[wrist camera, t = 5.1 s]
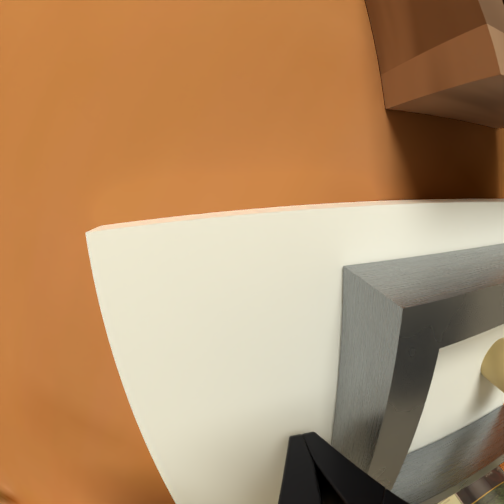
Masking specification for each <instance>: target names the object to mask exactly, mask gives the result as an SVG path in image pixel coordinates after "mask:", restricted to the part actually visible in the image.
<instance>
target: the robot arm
mask: <svg viewBox="0 0 504 504" xmlns="http://www.w3.org/2000/svg"><path fill="white" fill-rule="evenodd" d="M278 504H410V503H408V502H406V501H405V500H403V499H402V498H400V497H399V496H397V495H396V494H394V493H393V492H391V491H390V490H389V489H385V487H384V486H383V485H381V484H380V483H379V482H377V481H376V480H375V479H373V478H372V477H371V476H369V475H368V474H367V473H365V472H364V471H363V470H361V469H360V468H359V467H357V466H356V465H355V464H354V463H352V462H351V461H350V460H349V459H347V458H346V457H345V456H343V455H342V454H341V453H340V452H338V451H337V450H336V449H335V448H334V447H332V446H331V445H330V444H329V443H327V442H326V441H325V440H324V439H323V438H321V437H320V436H319V435H318V434H317V433H315V432H308V433H303V434H297V435H292V436H290V437H289V441H288V447H287V454H286V460H285V466H284V472H283V478H282V483H281V489H280V494H279V500H278Z"/></svg>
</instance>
